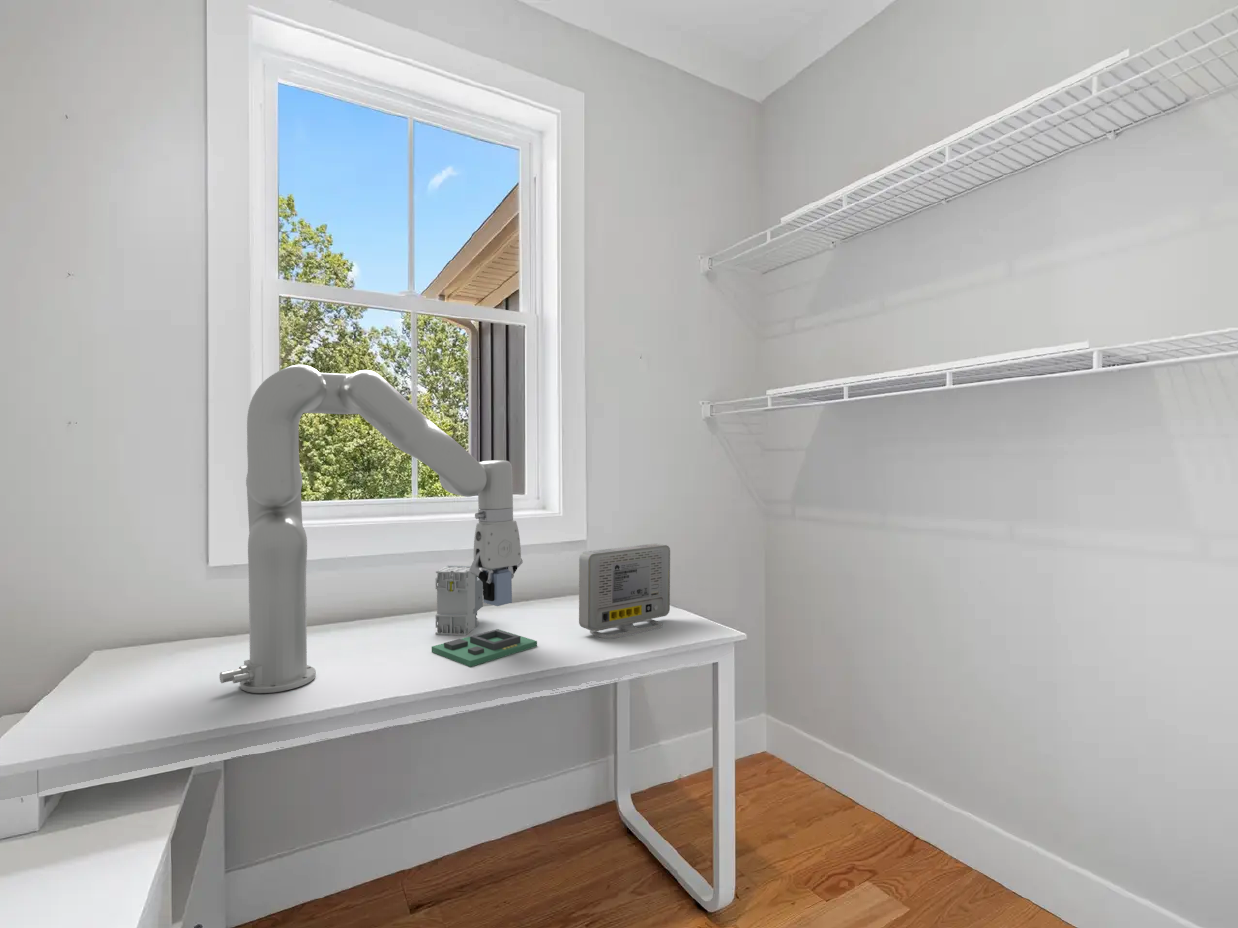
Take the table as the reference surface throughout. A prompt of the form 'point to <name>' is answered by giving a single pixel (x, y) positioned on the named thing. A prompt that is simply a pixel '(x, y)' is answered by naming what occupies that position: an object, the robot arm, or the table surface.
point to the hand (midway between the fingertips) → (497, 597)
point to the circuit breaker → (457, 600)
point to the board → (483, 647)
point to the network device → (624, 588)
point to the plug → (501, 587)
